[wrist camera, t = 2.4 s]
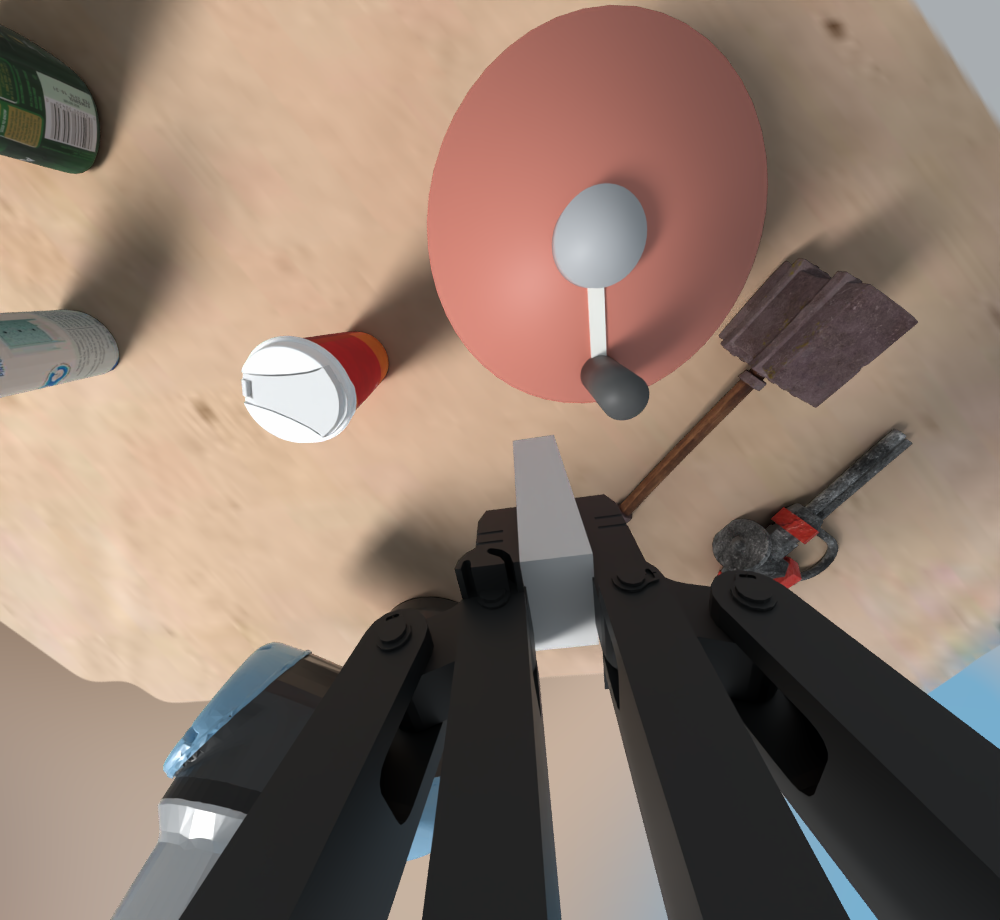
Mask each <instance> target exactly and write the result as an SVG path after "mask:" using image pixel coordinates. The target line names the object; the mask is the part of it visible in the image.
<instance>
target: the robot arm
mask: <svg viewBox="0 0 1000 920" xmlns="http://www.w3.org/2000/svg"><path fill="white" fill-rule="evenodd" d="M513 452H514V469H515V487H516V505H517V507H513V508H505V509H497V510H489V511H486V512H485V513H484V515H483V516H482V517H481V519H480V520H479V522H478V530H477V539H476V548H475V549H473V550H471V551H469V552H467V553H466V554H465V555H464V556H463V557H462V558H461V559H460V560H459V561H458V563H457V565H456V567H455V573H456V576H457V580H458V584H459V587H460V591H461V595H462V598H463V599H462V601H461V602H459V603H457V602H454V601H451V600H447V599H443V598H435V597H424V598H417V599H412V600H409V601H406V602H404V603H402V604H400V605H398V606H397V607H395V608H394V609H393V610H392V611H391V612H389V613H387V614H385V615H383V616H382V617H381V618H379V619H378V620H376V621H375V622H374V623H373V624H372V625H371V626H370V628H369V629H368V630H367V631H366V632H365V634H364V635H363V637H362V638H361V640H360V642H359V643H358V645H357V646H356V648H355V649H354V651H353V652H352V654H351V655H350V657H349V658H348V660H347V661H346V663H345V665H344V666H343V667H342V666H340V665H337V664H335V663H333V662H330V661H328V660H326V659H324V658H321V657H319V656H317V655H314V654H312V652H311V651H309V650H306V651H304V650H301V649H297V648H294V647H291V646H288V645H286V644H283V643H279V642H273V643H268V644H266V645H263V646H262V647H260V648H259V649H257V650H256V651H255V652H254V653H253V654H252V655H251V656H250V657H249V658H248V659H247V660H246V661H245V662H244V663H243V664H242V665H241V666H240V667H239V668H238V669H237V671H236V672H235V673H234V674H233V675H232V676H231V677H230V678H229V680H228V681H227V682H226V683H225V684H224V685H223V687H222V688H221V689H220V690H219V691H218V692H217V694H216V695H215V696H214V697H213V698H212V700H211V701H210V702H209V704H208V705H207V706H206V707H205V708H204V710H203V711H202V712H201V713H200V715H199V716H198V717H197V718H196V720H195V721H194V722H193V724H192V727H190V728H189V729H188V731H187V732H186V733H185V735H184V736H183V737H182V739H181V740H180V741H179V742H178V743H177V744H176V746H175V747H174V749H173V750H172V751H171V753H170V754H169V756H168V758H167V759H166V761H165V763H164V765H163V766H164V772H166V773H167V777H169V778H173V777H176V778H175V780H174V781H173V783H172V784H171V786H170V787H169V789H168V790H167V792H166V793H165V795H164V797H163V798H162V800H161V801H160V803H159V804H158V814H159V827H160V833H159V839H158V843H157V845H156V846H155V848H154V850H153V851H152V853H151V854H150V856H149V858H148V859H147V861H146V862H145V864H144V866H143V867H142V869H141V871H140V872H139V874H138V876H137V877H136V879H135V880H134V882H133V883H132V885H131V887H130V889H129V890H128V892H127V893H126V895H125V896H124V898H123V900H122V901H121V903H120V905H119V906H118V908H117V909H116V911H115V913H114V914H113V916H112V917H111V919H110V920H387V919H388V916H389V913H390V910H391V907H392V904H393V901H394V898H395V895H396V891H397V889H398V885H399V882H400V880H401V876H402V873H403V870H404V867H405V864H406V861H409V860H413V859H417V858H419V857H422V856H425V855H427V854H429V853H430V861H429V869H428V877H427V885H426V893H425V901H424V909H423V917H422V920H561V909H560V898H559V887H558V876H557V866H556V856H555V844H554V833H553V822H552V811H551V801H550V790H549V780H548V769H547V758H546V747H545V736H544V725H543V714H542V704H541V693H540V682H539V672H538V666H537V661H536V651H538V650H548V649H558V648H568V647H578V646H588V645H598V644H599V641H598V636H599V639H600V643H601V647H602V651H603V665H604V682H605V689H609V690H610V694H611V698H612V702H613V706H614V710H615V714H616V717H617V721H618V725H619V729H620V733H621V736H622V741H623V745H624V749H625V753H626V756H627V760H628V764H629V768H630V772H631V776H632V780H633V784H634V788H635V792H636V795H637V799H638V803H639V807H640V811H641V815H642V818H643V823H644V827H645V831H646V834H647V838H648V842H649V846H650V850H651V854H652V858H653V862H654V866H655V870H656V873H657V877H658V881H659V885H660V889H661V893H662V897H663V901H664V905H665V908H666V912H667V916H668V920H850V918H849V917H848V915H847V913H846V911H845V909H844V907H843V906H842V904H841V902H840V900H839V898H838V896H837V894H836V893H835V891H834V889H833V887H832V885H831V883H830V882H829V880H828V878H827V876H826V874H825V872H824V870H823V869H822V867H821V865H820V863H819V861H818V859H817V858H816V856H815V854H814V852H813V850H812V848H811V847H810V845H809V843H808V841H807V839H806V837H805V836H804V834H803V832H802V830H801V829H800V826H799V824H798V823H797V821H796V819H795V817H794V815H793V813H792V811H791V810H790V808H789V806H788V804H787V802H786V800H785V799H784V797H783V795H784V796H785V798H786V799H787V800H788V801H789V803H790V804H791V805H792V807H793V808H794V809H795V811H796V812H797V813H798V815H799V816H800V817H801V819H802V820H803V821H804V823H805V824H806V825H807V826H808V828H809V829H810V830H811V832H812V833H813V834H814V836H815V837H816V838H817V840H818V841H819V842H820V844H821V845H822V846H823V847H824V849H825V850H826V852H827V853H828V854H829V856H830V857H831V858H832V859H833V861H834V862H835V863H836V865H837V866H838V867H839V869H840V870H841V871H842V872H843V874H844V875H845V876H846V878H847V879H848V881H849V882H850V883H851V884H852V886H853V887H854V888H855V890H856V891H857V892H858V894H859V895H860V896H861V898H862V899H863V900H864V902H865V903H866V904H867V906H868V907H869V908H870V909H871V911H872V912H873V913H874V915H875V916H876V917H877V919H878V920H1000V749H999V748H997V747H996V746H995V745H993V744H992V743H991V742H989V741H988V740H987V739H985V738H984V737H983V736H981V735H980V734H979V733H977V732H976V731H975V730H974V729H972V728H971V727H969V726H968V725H967V724H966V723H964V722H963V721H962V720H960V719H959V718H957V717H956V716H955V715H954V714H952V713H951V712H950V711H948V710H947V709H946V708H945V707H943V706H942V705H941V704H939V703H938V702H937V701H935V700H934V699H933V698H931V697H930V696H929V695H927V694H926V693H925V692H923V691H922V690H921V689H919V688H918V687H917V686H916V685H914V684H913V683H912V682H910V681H909V680H908V679H906V678H905V677H904V676H902V675H901V674H900V673H898V672H897V671H896V670H894V669H893V668H892V667H890V666H889V665H888V664H887V663H885V662H884V661H883V660H881V659H880V658H879V657H877V656H876V655H875V654H873V653H872V652H871V651H869V650H868V649H867V648H865V647H864V646H863V645H861V644H860V643H859V642H858V641H856V640H855V639H854V638H852V637H851V636H850V635H848V634H847V633H846V632H844V631H843V630H842V629H840V628H839V627H838V626H836V625H835V624H834V623H832V622H831V621H830V620H829V619H827V618H826V617H825V616H823V615H822V614H821V613H819V612H818V611H817V610H815V609H814V608H813V607H811V606H810V605H809V604H807V603H806V602H805V601H803V600H802V599H801V598H800V597H798V596H797V595H796V594H794V593H793V592H792V591H790V590H789V589H788V588H786V587H785V586H784V585H782V584H780V583H779V582H777V581H775V580H774V579H772V578H770V577H768V576H765V575H762V574H759V573H756V572H753V571H744V570H733V571H725V572H723V573H721V574H720V575H718V576H716V577H715V578H714V580H713V582H712V584H711V587H709V586H701V585H693V584H686V583H681V582H676V581H673V580H670V579H668V578H665V577H664V576H663V575H662V573H661V572H660V571H659V570H658V569H657V568H656V567H654V566H653V565H651V564H649V563H648V562H646V561H645V559H644V557H643V555H642V553H641V551H640V549H639V547H638V545H637V543H636V541H635V539H634V537H633V535H632V533H631V531H630V530H629V528H628V526H627V525H626V522H625V520H624V518H623V516H622V514H621V512H620V510H619V508H618V506H617V504H616V503H615V502H614V501H613V500H611V499H610V498H608V497H607V496H606V495H604V494H603V495H595V496H588V497H580V498H574V495H573V492H572V489H571V486H570V483H569V480H568V477H567V474H566V471H565V468H564V465H563V462H562V459H561V456H560V452H559V449H558V446H557V443H556V440H555V437H554V435H550V436H543V437H536V438H529V439H522V440H515V441H513ZM781 792H782V793H781ZM782 794H783V795H782Z"/></svg>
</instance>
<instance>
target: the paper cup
mask: <svg viewBox="0 0 1000 920" xmlns="http://www.w3.org/2000/svg"><path fill="white" fill-rule="evenodd" d="M388 364H389V363H388V356H387V353H386V351H385V349H384V347H383V346H382V344H381V343H380V342H379V341H378V340H377V339H376V338H374V337H373V336H371V335H369V334H367V333H363V332H343V333H335V334H328V335H321V336H314V337H307V338H300V337H294V336H279V337H274V338H271V339H268V340H266V341H264V342H262V343H261V344H259V345H258V346H257V347H256V348H255V349H254V350H253V351H252V352H251V354H250V355H249V357H248V359H247V361H246V362H245V364H244V366H243V368H242V371H241V372H244V373H243V379H241V380H242V391H243V396H245V402H244V404H245V406H246V408H247V410H248V411H249V413H250V414H251V416H252V417H253V418H254V419H255V421H256V422H257V423H258V424H259V425H260V426H262V427H263V428H264V429H265V430H267V431H268V432H269V433H271V434H273V435H275V436H277V437H279V438H281V439H284V440H287V441H291V442H298V443H309V442H321V441H326V440H328V439H331V438H333V437H335V436H337V435H338V434H339V433H341V432H342V431H343V430H344V429H345V427H346V426H347V425H348V423H349V422H350V420H351V418H352V416H353V415H354V413H355V411H356V409H357V408H358V407H359V406H360V405H361V404H362V403H363V402H364V401H365V399H366V398H367V397H368V396H369V395H370V394H371V393H372V392H373V391H374V390H375V388H376V387H377V386H378V385H379V384H380V383H381V381H382V380H383V379H384V377H385V376H386V373H387V370H388Z"/></svg>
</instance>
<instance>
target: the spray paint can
mask: <svg viewBox="0 0 1000 920" xmlns="http://www.w3.org/2000/svg"><path fill="white" fill-rule="evenodd" d="M118 360H119V350H118V347H117V344H116V341H115V340H114V338H113V336H112V334H111V333H110V332H109V331H108V330H107V328H106V327H105V326H104V325H103V324H101V323H100V322H99V321H98V320H96V319H95V318H93V317H91V316H90V315H88V314H85V313H82V312H79V311H71V310H52V311H32V312H12V313H0V398H1V397H5V396H10V395H14V394H18V393H23V392H27V391H32V390H36V389H40V388H45V387H49V386H53V385H58V384H62V383H66V382H71V381H75V380H79V379H84V378H88V377H92V376H97V375H101V374H105V373H107V372H109V371H111V370H113V369H114V368H115V366H116V365H117V363H118Z"/></svg>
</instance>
